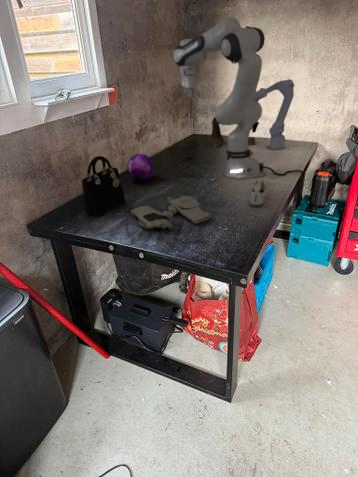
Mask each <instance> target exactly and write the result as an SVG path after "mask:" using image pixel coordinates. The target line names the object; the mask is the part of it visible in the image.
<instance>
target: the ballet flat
mask: <svg viewBox="0 0 358 477" xmlns="http://www.w3.org/2000/svg"><path fill="white" fill-rule="evenodd" d="M268 194H269V189H268V186H267V183H266V182H265V181H264V180H262V179H257V180H255V181H254V182H253V184H252V187H251V190H250V196H249V204H250V205H251V206H252V207H260V206H261V205H263V203H264V201H265V198H266V196H267V195H268Z"/></svg>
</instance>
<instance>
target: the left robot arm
mask: <svg viewBox="0 0 358 477" xmlns="http://www.w3.org/2000/svg"><path fill="white" fill-rule="evenodd" d="M265 38H266V37H265V34H264V31H263V30H262V29H260V28H259V27H254V26H249V25H247V26H245V27H242V26H241V23H240V21H239V20H238V19H237V18H236V17H233V16H230V17H226V18H224V19H222V20H220V21H219V22H218V23H216V24H215V25H213V26H212V27H211V28H209V29H207V30H206V31H205V32H203V33H202V34H199V35H198V36H197V37H194V38H190V37H189V38H183V39H181V40H180V41H179V45H177V46H175V48H174V50H173V52H172V59H173V61H174V63H175V64H176V66H178V67H179V74H180V75H181V87H183V90H184V95H185V96H188V98H192V97H193V90H194V89H195V88H196V75H197V70H196V65H200V64H203V62H204V61H205V60H206V53H208V52H209V53H210V52H218V51H220V52H221V55H222V56H223V57H224V58H225V59H226V60H228V61H229V62H231V64H234V65H235V64H237V65H238V67H237V71H236V72H237V73H236V76H235V80H234V84H233V88H232V90H231V92H230V94H229V96H228V97H227V98H226V99H225V101H223V102H222V103H220V104H219V105H218V106H217V108H216V109H215V113H214V117H215V118H216V121H217V122H218V123H219V125H222V126H232V125H236V126H235V128H234V129H233V130H231V131H230V132H229V134H228V135H227V149H226V152H225V153H226V154H225V159H226V165H225V169H224V172H223V174H224V176H225V177H228V178H232V179H233V178H234V179H237V180H243V179H250V178H258V177H259V178H260V177H263V176H264V175H265V172H264V169H267V170H270V171H271V172H272V173H273V174H275V175H277V176H279V177H281V176H282V177H283V176H286V175H287V174H289V173H301V174H302V175H306V173H305V172H304V171H303V170H300V169H292V170H286V171H285V172H284V173H279V172H277V171H275V170H274V169H272V167H268V166H265V165H264V163H263V162H259V161H258V160H257V159H256V158H255V157H254V156H253V154H254V152H253V151H252V149H249V147H248V146H249V145H248V138H250V132H251V131H252V130H251V128H252V127H253V125H254V124H255V123H256V122H257V121H258V122H259V120H260V119H261V117H262V115H263V108H262V105H261V103H260V102H259V101H258V102H255V101H249V100H250V99H252V98H253V96H254V95H255V92H257V88H258V85H259V82H260V78H261V74H262V66H263V59H262V57H261V56H260V55H259V54H258V52H260V51H261V50H262V49H263V47H264V46H265V42H266V41H265Z"/></svg>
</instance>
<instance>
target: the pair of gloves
mask: <svg viewBox="0 0 358 477" xmlns="http://www.w3.org/2000/svg"><path fill="white" fill-rule="evenodd" d="M166 204H167V205H168V207H167V210H164V211H163V212H161V211H159V210H156V209H155V208H152V207H151V206H149V205H141V206H138V207H135V208H132V209H131V210H130V214H131V215H133V216H134V217H136V218H137V219H138V225H139V226H140V227H142V228H144V229H147V230H154V229H156V228H161V229H168V230H173V229H174V226H173V224H172V223H171V221H170V219H172V218H173V216H174V215H176V214H177V213H180V214H181V216H183V217H184V218H186V219H188V220H189V221H190V222H192V223H193V224H195V225H197V224H200V223H204V222H205V221H207V220H210V219H211V217H212V214H211V213H210V212H207V211H204V210H202V208H201V207H200V202H198V200H196V199H195V198H193V197H192V196H190V195H184V196H180V197H178V198H175V199H174V198H171V197H170V196H168V197H167V199H166Z"/></svg>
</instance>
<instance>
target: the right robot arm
mask: <svg viewBox="0 0 358 477" xmlns="http://www.w3.org/2000/svg"><path fill="white" fill-rule="evenodd" d="M294 88H295V83H294V81H293V80H292V79H290V78H288V79H284V80H280V81H277V82H275V83H273V84H271V85H270V86H268V87H267V88H265V87H261V88H259V90H256V92H255V95H254V96H253V98H252V99H250V100H249V101H255V102H259V101H260V100H263V99H264V98H266V97H268V94H270V93H272V92H274V91H278V92H279V93H280V94H281V95H282V96H283V98H282V103H281V106H280V107H279V110H278V114H277V116H276V119H275V120H274V122H273V123H272V125H271V127H270V128H269V130H268V131H269V132H268V133H269V135H270V143H269V146H267V148H268V149H270V150H272V151H276V150H283V149H285V144H286V137H285V135H284V134H283V133H284V132H285V127H286V126H285V125H286V124H285V120H286V118H287V115H288V112H289V109H290V107H291V105H292V102H293V100H294V96H295V95H294V94H295V93H294ZM259 125H260V122H259V120H258V121H257V122H256V123H255V124H254V125H253V127H252V128H251V130H250V131H251V132H252V133H256V132H257V129H258V127H259Z"/></svg>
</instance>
